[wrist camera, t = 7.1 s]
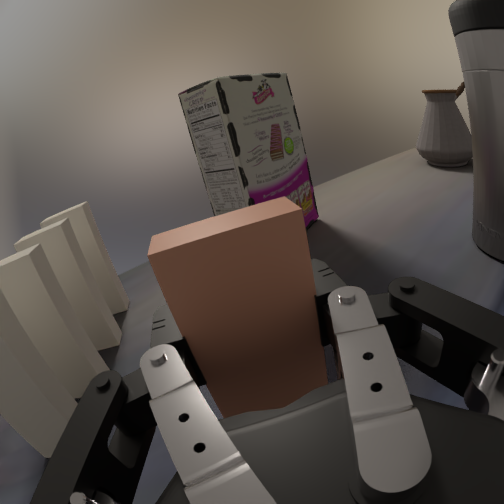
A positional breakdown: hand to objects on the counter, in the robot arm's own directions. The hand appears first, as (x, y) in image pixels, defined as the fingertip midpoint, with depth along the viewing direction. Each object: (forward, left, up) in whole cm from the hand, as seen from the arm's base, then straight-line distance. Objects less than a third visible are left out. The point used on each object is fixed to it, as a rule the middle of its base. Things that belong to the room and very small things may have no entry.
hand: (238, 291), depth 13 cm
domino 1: (+12, -13, -6) cm, 19 cm away
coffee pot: (-46, -30, -6) cm, 55 cm away
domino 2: (+12, -8, -6) cm, 16 cm away
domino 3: (+12, -3, -6) cm, 14 cm away
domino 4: (+12, +2, -6) cm, 13 cm away
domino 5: (0, +3, -6) cm, 7 cm away
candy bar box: (-6, -18, -6) cm, 20 cm away
